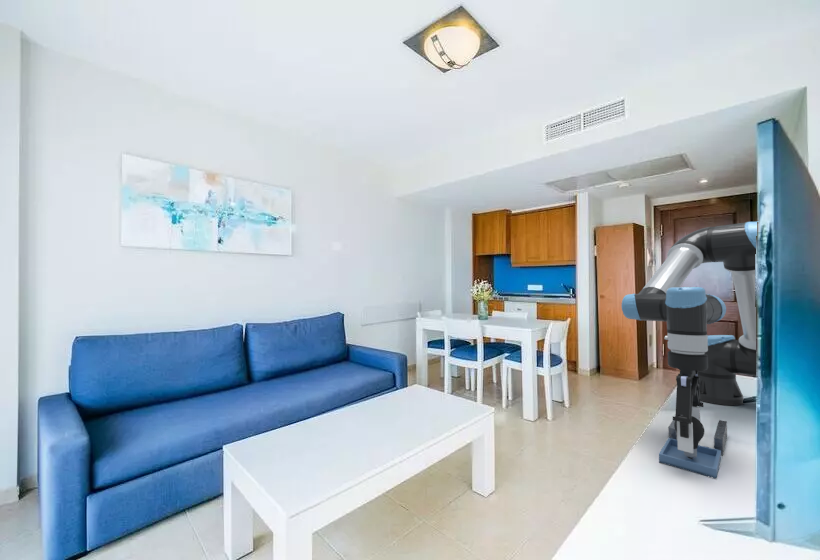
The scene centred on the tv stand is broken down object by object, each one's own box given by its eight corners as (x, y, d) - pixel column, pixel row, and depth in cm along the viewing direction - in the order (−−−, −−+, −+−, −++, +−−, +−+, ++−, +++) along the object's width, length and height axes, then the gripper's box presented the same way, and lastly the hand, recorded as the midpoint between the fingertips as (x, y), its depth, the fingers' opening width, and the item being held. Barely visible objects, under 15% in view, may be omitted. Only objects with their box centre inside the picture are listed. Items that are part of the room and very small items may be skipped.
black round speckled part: (706, 466, 78) (704, 421, 79) (675, 459, 82) (673, 416, 82) (705, 457, 83) (703, 414, 83) (675, 450, 86) (673, 410, 86)
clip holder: (678, 425, 103) (678, 411, 103) (727, 436, 95) (726, 421, 95) (668, 442, 91) (668, 427, 92) (723, 456, 84) (722, 439, 84)
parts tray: (668, 445, 90) (668, 437, 90) (721, 458, 83) (720, 450, 83) (659, 462, 81) (658, 453, 81) (716, 479, 74) (716, 469, 74)
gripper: (676, 343, 94) (678, 422, 93) (657, 357, 76) (660, 454, 76) (712, 346, 89) (715, 430, 88) (701, 361, 71) (704, 466, 71)
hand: (689, 441), depth 82 cm, fingers open, 13 cm apart
